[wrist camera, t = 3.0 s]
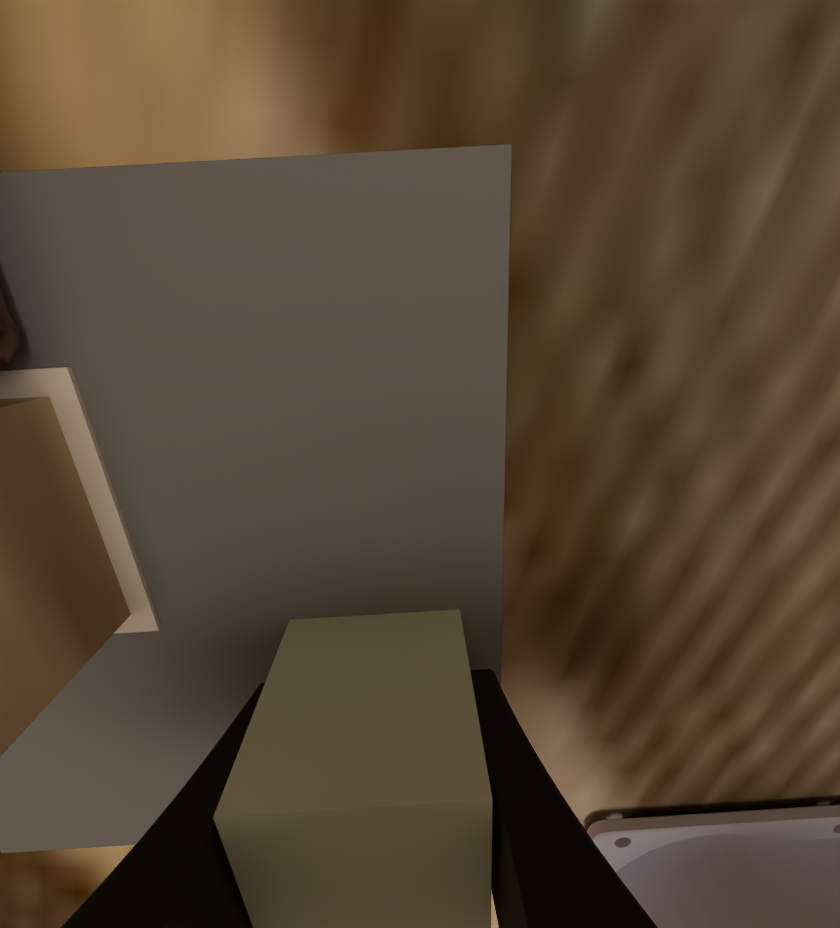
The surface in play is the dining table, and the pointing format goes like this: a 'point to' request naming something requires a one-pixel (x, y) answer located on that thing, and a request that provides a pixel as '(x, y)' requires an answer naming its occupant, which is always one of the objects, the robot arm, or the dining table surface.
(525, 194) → the dining table surface
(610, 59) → the dining table surface
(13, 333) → the diary
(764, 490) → the dining table surface
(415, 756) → the sage cube
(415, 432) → the mat
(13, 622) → the beech block
